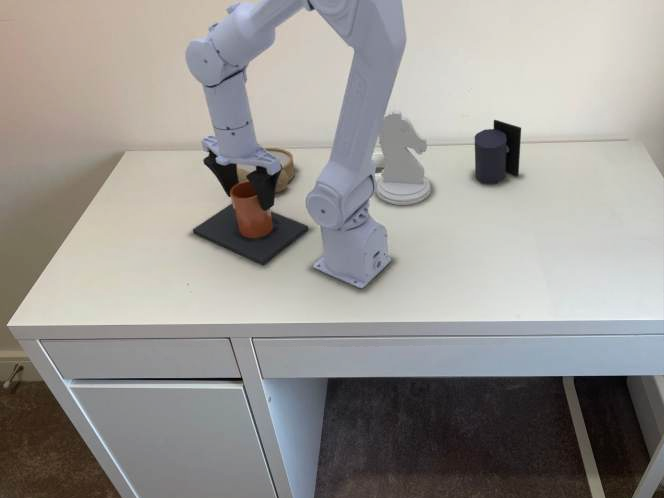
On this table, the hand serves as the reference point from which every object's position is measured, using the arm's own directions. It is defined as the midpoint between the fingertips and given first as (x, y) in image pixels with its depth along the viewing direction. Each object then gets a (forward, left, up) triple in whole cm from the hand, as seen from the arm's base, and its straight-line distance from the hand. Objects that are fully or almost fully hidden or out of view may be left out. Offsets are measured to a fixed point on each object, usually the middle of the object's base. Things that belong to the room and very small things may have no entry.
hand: (250, 200), depth 92 cm
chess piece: (-14, -23, -6) cm, 28 cm away
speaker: (-26, -35, -6) cm, 44 cm away
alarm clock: (+10, -12, -6) cm, 17 cm away
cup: (0, 0, -5) cm, 5 cm away
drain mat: (+1, +1, -6) cm, 6 cm away
